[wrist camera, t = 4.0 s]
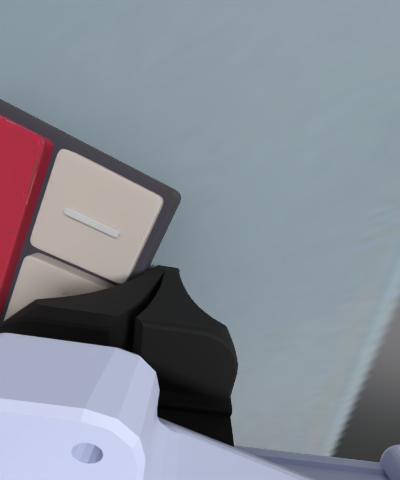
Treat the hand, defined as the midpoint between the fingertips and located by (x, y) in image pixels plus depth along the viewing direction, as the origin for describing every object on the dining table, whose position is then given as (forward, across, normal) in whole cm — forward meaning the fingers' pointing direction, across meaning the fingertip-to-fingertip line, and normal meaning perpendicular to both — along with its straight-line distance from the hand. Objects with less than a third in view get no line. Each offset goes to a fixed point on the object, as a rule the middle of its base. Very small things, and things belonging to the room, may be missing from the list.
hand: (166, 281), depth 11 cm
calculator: (+2, +7, 0) cm, 8 cm away
